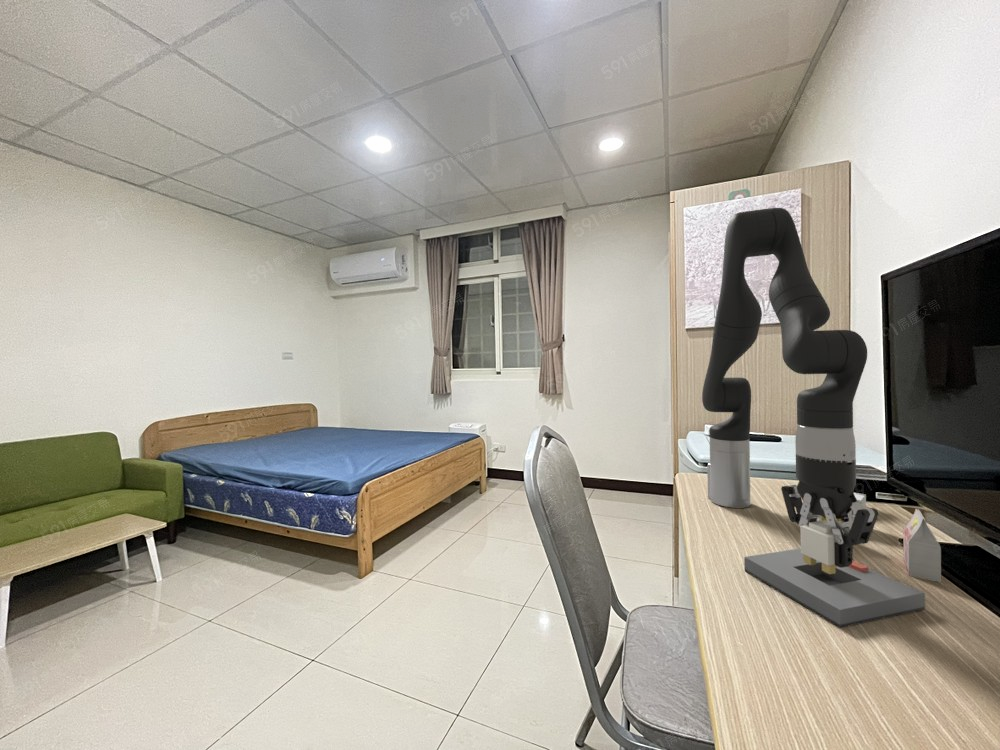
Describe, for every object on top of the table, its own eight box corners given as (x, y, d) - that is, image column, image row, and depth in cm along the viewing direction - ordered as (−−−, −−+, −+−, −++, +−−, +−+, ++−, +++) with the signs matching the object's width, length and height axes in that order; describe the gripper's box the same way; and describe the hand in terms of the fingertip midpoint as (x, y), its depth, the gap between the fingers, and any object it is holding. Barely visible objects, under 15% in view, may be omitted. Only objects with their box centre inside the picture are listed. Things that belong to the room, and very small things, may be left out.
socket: (744, 570, 70) (744, 553, 70) (816, 559, 74) (815, 542, 74) (840, 627, 55) (839, 605, 55) (924, 609, 58) (924, 588, 58)
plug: (800, 561, 66) (800, 521, 66) (823, 558, 67) (823, 518, 67) (828, 575, 62) (827, 531, 61) (852, 570, 63) (851, 528, 63)
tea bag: (933, 566, 70) (932, 510, 70) (941, 582, 65) (940, 522, 65) (903, 560, 73) (903, 506, 73) (909, 575, 68) (908, 517, 67)
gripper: (766, 447, 70) (768, 543, 70) (854, 465, 56) (856, 585, 56) (800, 444, 72) (802, 538, 72) (894, 461, 58) (896, 577, 58)
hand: (825, 558), depth 64 cm, fingers closed on plug, 4 cm apart
